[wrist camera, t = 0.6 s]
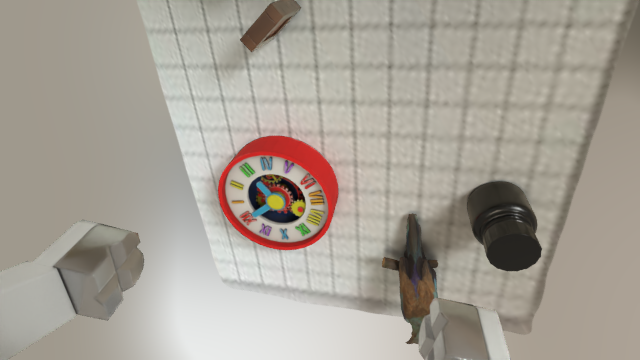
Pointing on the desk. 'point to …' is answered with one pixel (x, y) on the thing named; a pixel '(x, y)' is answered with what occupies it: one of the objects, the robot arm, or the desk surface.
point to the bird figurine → (414, 279)
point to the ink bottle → (504, 225)
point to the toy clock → (279, 193)
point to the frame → (270, 23)
